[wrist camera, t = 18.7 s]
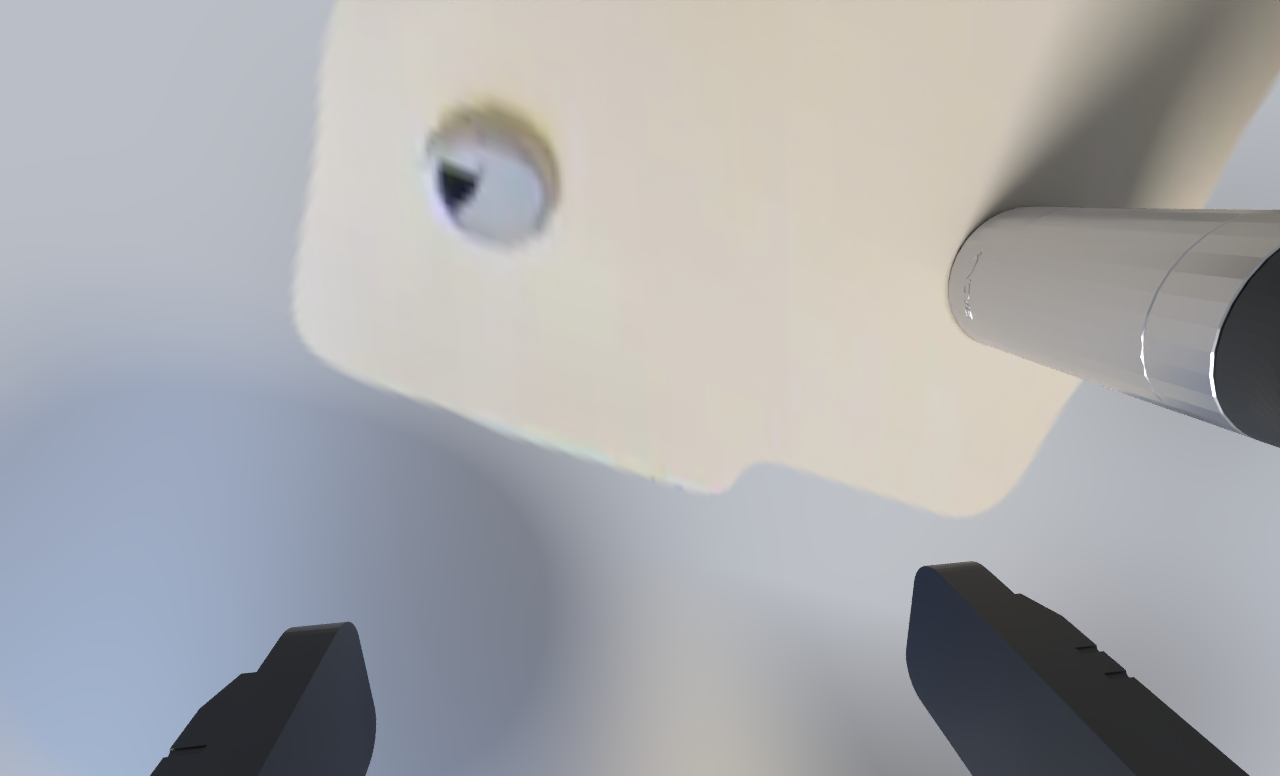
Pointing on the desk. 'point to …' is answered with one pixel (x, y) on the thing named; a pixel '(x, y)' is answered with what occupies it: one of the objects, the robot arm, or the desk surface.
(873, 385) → the desk surface
